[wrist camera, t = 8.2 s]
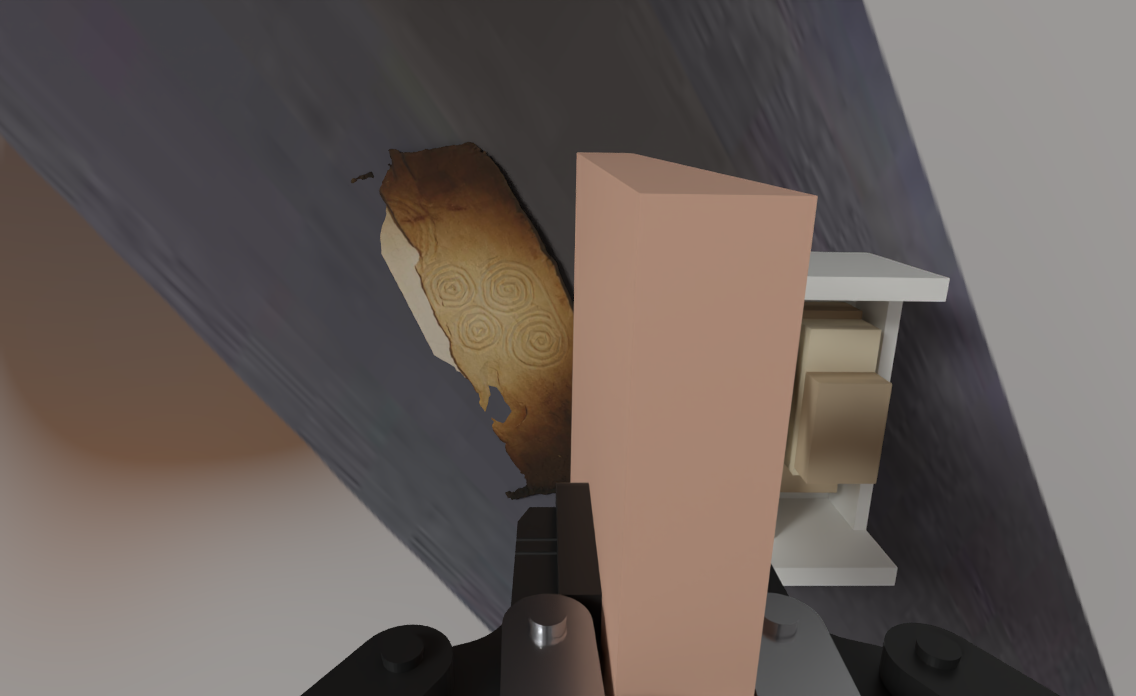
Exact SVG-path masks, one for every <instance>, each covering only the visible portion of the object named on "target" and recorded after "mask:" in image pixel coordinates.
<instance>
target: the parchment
mask: <svg viewBox="0 0 1136 696" xmlns="http://www.w3.org/2000/svg"><path fill="white" fill-rule="evenodd" d="M389 153H390V157H391V159H392V165H390V163H389V164H388V165H390V169H389V170H388V171H387V174H386V176H385V178H384V180H383V181H382V186H381V187H380V190H379V192H380V195H381V197H382V199H383V200H384V202H385V203H386V205H387V206H386V213H387V215H386V219H385V221H384V223H383V226H382V230H381V235H380V238H381V239H380V240H381V248H382V255H383V257H384V259H385V261H386V263H387V265H388V267H389V269H390V271H391V272H392V274H393V276H394V278H395V280H396V282H397V283H398V285H399V288H400V290H401V291H402V293H403V296H404V297H405V299H406V301H407V303H408V305H409V307H410V309H411V311H412V312H413V315H414V317H415V319H416V320H417V322H418V324H419V326H420V328H421V331H422V332H423V334H424V336H425V338H426V340H427V342H428V344H429V345H430V347H431V349H432V351H433V354H434V355H435V356H437V357H438V358H440V359H442V360H444V361H446V362H447V363H449V364H451V365H453V366H454V367H455V368H456V370H457V371H459V372H461V373H462V374H463V376H464V377H465V378H466V379H468V380H469V381H470V382H471V383H472V385H473V387H474V389H475V391H476V392H477V393H479V396H480V401H479V404H480V405H481V407H482V408H483V409H484V411H486V407H487V405H488V398H489V396H490V391H489V387H488V385H490V386H494V387H497V388H498V389H499V391H500V392H501V394H502V395H503V397H504V400H505V402H506V403H507V404H508V405H509V406H510V409H511V411H512V412H511V413H510V415H509V416H508V418H507V420H506V421H505V422H504V423H500V422H497V421H496V420H495V419H492V418H491V419H492V420H493V421H494V423H493V424H492V427H493V431H494V432H495V433H496V435H497V436H498V437H499V439H500V440H501V441H502V442H504V443H506V446H505V448H506V452H507V453H508V455H509V456H510V458H511V460H512V461H513V462H514V464H515V465H516V466H517V468H519V470H520V471H521V472H520V473H522V474H525V479H526V480H527V482H526V483H527V485H526V486H525V487H523V488H519V489H517V490H516V491H515V492H511V491H508V492H505V493H506V495H507V497H508V498H511V499H512V500H513V499H516V498H517V499H519V498H520V497H526V496H529V495H534V494H544V495H545V494H548V493H556V483H570V481H571V430H572V379H573V328H574V304H573V302H572V299H571V297H570V294H569V292H568V290H567V289H566V286H565V284H564V282H563V278H562V277H561V275H560V272H559V269H558V266H557V262H556V261H555V260H554V259H553V258H552V257H551V256H550V255H549V254H548V253H547V250H546V248H545V245H544V243H543V242H542V240H541V238H540V236H539V235H538V232H537V229H536V228H535V227H534V225H533V224H532V222H531V221H530V219H529V218H528V216H527V215H526V213H525V212H524V211H523V210H522V209H521V206H520V205H519V202H518V201H517V199H516V197H515V196H514V194H513V192H512V191H511V189H510V187H509V185H508V183H507V181H506V180H505V178H504V176H503V174H502V173H501V172H500V170H499V168H498V167H497V165H496V164H495V163H494V162H493V161H492V159H491V158H489V157H488V156H487V155H486V152H485V151H484V152H483V153H482V152H481V148H479V147H477V146H476V145H475V144H474V143H471V142H467V143H464V144H462V145H453V146H445V147H441V148H440V147H439V148H434V149H431V150H428V149H425V150H423V151H418V152H412V153H410V152H405V153H403V152H402V153H400V152H399V151H398V150H396V149H390V150H389ZM368 177H372V178H374V175H373V173H372V172H369V173H367V174H365V175H362V176H359V177H358V178H356V179H355V178H353V179H352V180H351V183H354V182H356V181H357V179H362V180H363V179H366V178H368ZM527 487H528V488H527Z"/></svg>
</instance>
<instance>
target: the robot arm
mask: <svg viewBox="0 0 1136 696" xmlns="http://www.w3.org/2000/svg"><path fill="white" fill-rule="evenodd" d="M601 612H602V589H601V581H600V572H599V564H598V556H597V547H596V539H595V530H594V522H593V513H592V505H591V496H590V488H589V483H556V507H529V509H528V510H527V511H526V512H525V514H524V515H523V516H522V517H521V518H520V520H519V521H518V526H517V541H516V551H515V563H514V576H513V588H512V600H511V607H510V608H509V609H508V610H507V612H506V613H505V615H504V618H503V622H502V625H501V626H500V627H499V628H497V629H496V630H495V631H494V632H492V633H490V634H489V635H487V636H485V637H483V638H481V639H478V640H475V641H472V642H469V643H464V644H460V645H457V646H453V647H452V646H451V644H450V641H449V640H448V638H447V637H446V636H445V635H444V634H443V633H441V632H440V631H438V630H436V629H434V628H431V627H428V626H423V625H403V626H397V627H393V628H390V629H387V630H385V631H382V632H380V633H378V634H377V635H375V636H373V637H372V638H371V639H369V640H368V641H367V642H365V643H364V644H363V645H362V646H360V647H359V648H358V649H357V650H355V651H354V652H353V653H352V654H351V655H350V656H348V657H347V658H346V659H345V660H343V661H342V662H341V663H340V664H339V665H338V666H336V667H335V668H334V669H332V670H331V671H330V672H329V673H328V674H326V675H325V676H324V677H323V678H321V679H320V680H319V681H318V682H317V683H316V684H314V685H313V686H312V687H311V688H309V689H308V690H307V691H306V692H304V693H303V694H302V695H301V696H605V694H604V687H603V681H602V675H601V669H600V640H601ZM754 696H1059V695H1058V694H1056V693H1054V692H1053V691H1051V690H1049V689H1048V688H1046V687H1044V686H1042V685H1041V684H1039V683H1037V682H1036V681H1034V680H1032V679H1031V678H1029V677H1027V676H1026V675H1024V674H1022V673H1021V672H1019V671H1017V670H1016V669H1014V668H1012V667H1010V666H1009V665H1007V664H1005V663H1004V662H1002V661H1000V660H999V659H997V658H995V657H994V656H992V655H990V654H989V653H987V652H985V651H983V650H982V649H980V648H978V647H977V646H975V645H973V644H972V643H970V642H968V641H967V640H965V639H963V638H961V637H960V636H958V635H956V634H954V633H952V632H949V631H947V630H945V629H942V628H939V627H936V626H932V625H927V624H921V623H904V624H900V625H897V626H894V627H892V628H891V629H890V630H889V631H888V632H887V633H886V635H885V639H884V644H883V647H881V646H876V645H872V644H867V643H863V642H858V641H853V640H849V639H845V638H841V637H838V636H835V635H833V634H830V633H829V632H828V630H827V628H826V626H825V624H824V622H823V621H822V619H821V618H820V616H819V615H818V614H817V613H816V612H815V611H814V610H813V609H812V608H810V607H809V606H807V605H806V604H804V603H803V602H801V601H799V600H797V599H794V598H792V597H789V596H788V594H787V592H786V590H785V588H784V586H783V585H782V583H781V581H780V579H779V577H778V575H777V573H776V571H775V570H774V568H773V566H772V564H771V567H770V574H769V582H768V590H767V598H766V606H765V614H764V622H763V629H762V637H761V645H760V653H759V661H758V669H757V677H756V684H755V692H754Z"/></svg>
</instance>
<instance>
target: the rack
mask: <svg viewBox="0 0 1136 696" xmlns="http://www.w3.org/2000/svg"><path fill="white" fill-rule="evenodd" d="M949 280H950V278H947V277H944V276H941V275H938V274H934V273H931V272H928V271H925V270H922V269H919V268H915V267H912V266H909V265H906V264H903V263H900V262H896V261H893V260H890V259H887V258H884V257H880V256H877V255H874V254H871V253H862V252H810V260H809V268H808V276H807V284H806V291H805V299H804V302H846V303H848V304H850V305H852V306H854V307H856V308H858V309H860V310H862V311H863V314H862V320H864V321H866V322H868V323H869V324H871V325H873V326H875V327H877V328H879V329H881V330H882V331H881V337H880V344H879V350H878V357H877V363H876V370H875V373H877V374H878V375H880V376H881V377H883V378H884V379H886V380H887V381H889V382H890V379H891V372H892V366H893V360H894V354H895V348H896V341H897V335H898V329H899V323H900V317H901V311H902V304H903V301H933V302H946V296H947V291H948V285H949ZM872 490H873V484H838V486H837V493H799V492H780V496H779V504H778V512H777V519H776V527H775V535H774V543H773V551H772V559H771V564H772V566H773V568H774V570H775V571H776V573H777V575H778V577H779V579H780V581H781V583H782V585H783V586H894V585H895V580H896V574H897V569H898V567H897V566H896V565H895V564H894V563H893V562H892V560H891V559H890V558H889V557H888V556H887V554H886V553H885V552H884V551H883V550H882V548H881V547H880V546H879V545H878V544H877V542H876V541H875V540H874V539H873V538H872V536H871V535H870V534H869V533H868V532H867V530H866V527H867V521H868V515H869V508H870V502H871V496H872Z"/></svg>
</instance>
